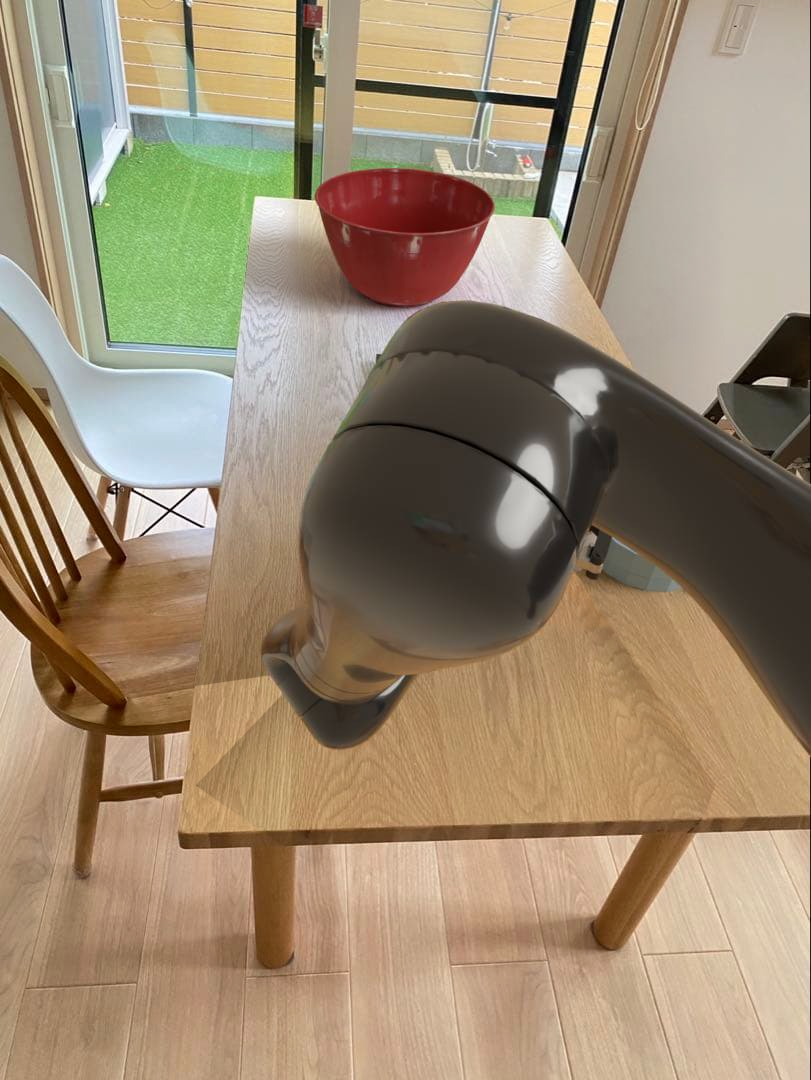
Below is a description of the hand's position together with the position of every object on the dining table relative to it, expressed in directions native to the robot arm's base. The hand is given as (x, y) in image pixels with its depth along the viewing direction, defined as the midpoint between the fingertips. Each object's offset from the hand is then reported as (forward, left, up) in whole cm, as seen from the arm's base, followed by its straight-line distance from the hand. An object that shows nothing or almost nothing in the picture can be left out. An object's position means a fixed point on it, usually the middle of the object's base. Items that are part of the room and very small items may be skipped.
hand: (600, 487), depth 74 cm
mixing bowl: (+72, -4, -14) cm, 73 cm away
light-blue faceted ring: (+2, -10, -13) cm, 17 cm away
